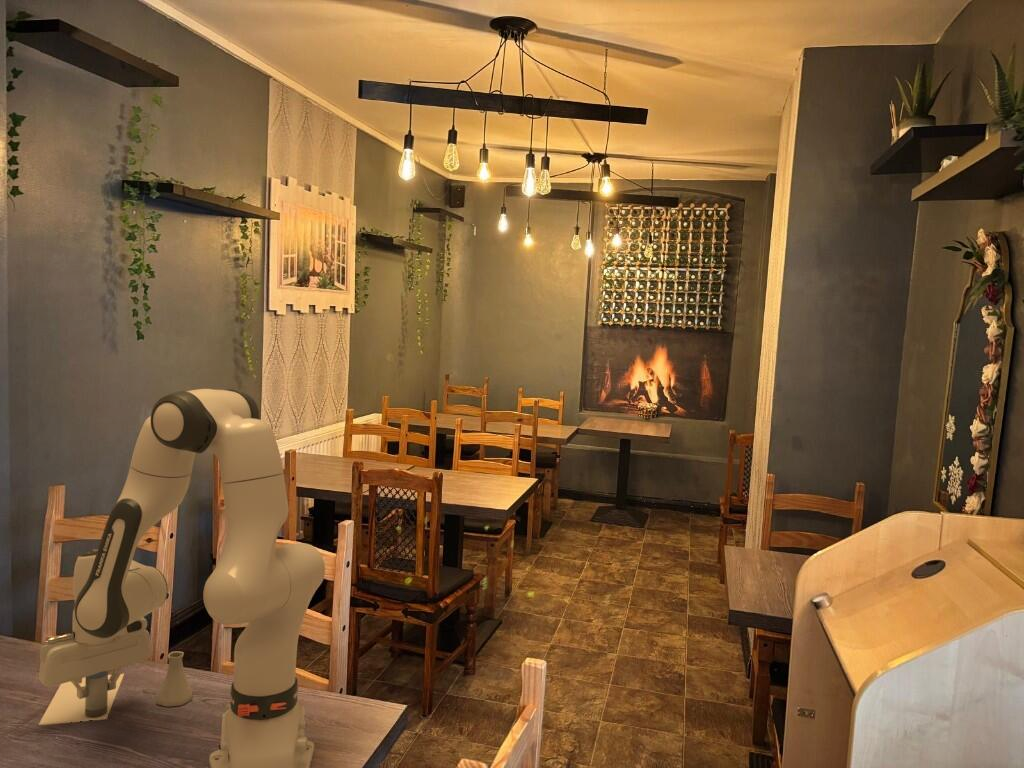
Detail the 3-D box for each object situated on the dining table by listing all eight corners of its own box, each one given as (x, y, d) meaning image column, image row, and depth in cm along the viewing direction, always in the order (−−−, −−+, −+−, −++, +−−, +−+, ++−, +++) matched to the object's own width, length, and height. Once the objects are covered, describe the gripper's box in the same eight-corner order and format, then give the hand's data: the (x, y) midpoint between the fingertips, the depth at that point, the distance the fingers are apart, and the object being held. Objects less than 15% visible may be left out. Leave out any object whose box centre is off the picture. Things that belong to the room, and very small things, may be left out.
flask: (184, 708, 161) (185, 662, 160) (149, 707, 161) (150, 660, 160) (198, 692, 168) (199, 648, 168) (165, 690, 168) (166, 646, 168)
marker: (105, 716, 156) (105, 673, 155) (82, 718, 154) (83, 674, 154) (109, 706, 159) (109, 664, 159) (87, 708, 158) (87, 666, 157)
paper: (106, 719, 155) (106, 717, 155) (38, 725, 152) (38, 724, 152) (124, 674, 174) (124, 673, 174) (64, 679, 171) (64, 678, 171)
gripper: (44, 645, 146) (44, 716, 147) (155, 619, 161) (153, 683, 162) (34, 635, 150) (33, 704, 151) (142, 610, 165) (141, 673, 166)
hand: (96, 693), depth 157 cm, fingers closed on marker, 4 cm apart
